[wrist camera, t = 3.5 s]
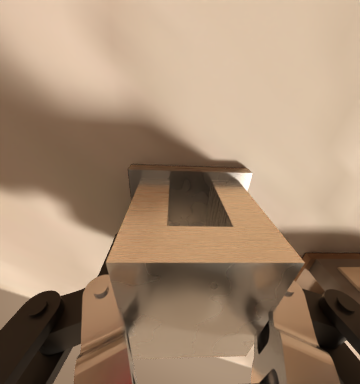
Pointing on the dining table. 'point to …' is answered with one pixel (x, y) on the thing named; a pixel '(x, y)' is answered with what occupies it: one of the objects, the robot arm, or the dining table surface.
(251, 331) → the tan wood block
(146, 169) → the brown flat angled piece
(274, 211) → the dining table surface
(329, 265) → the rack
